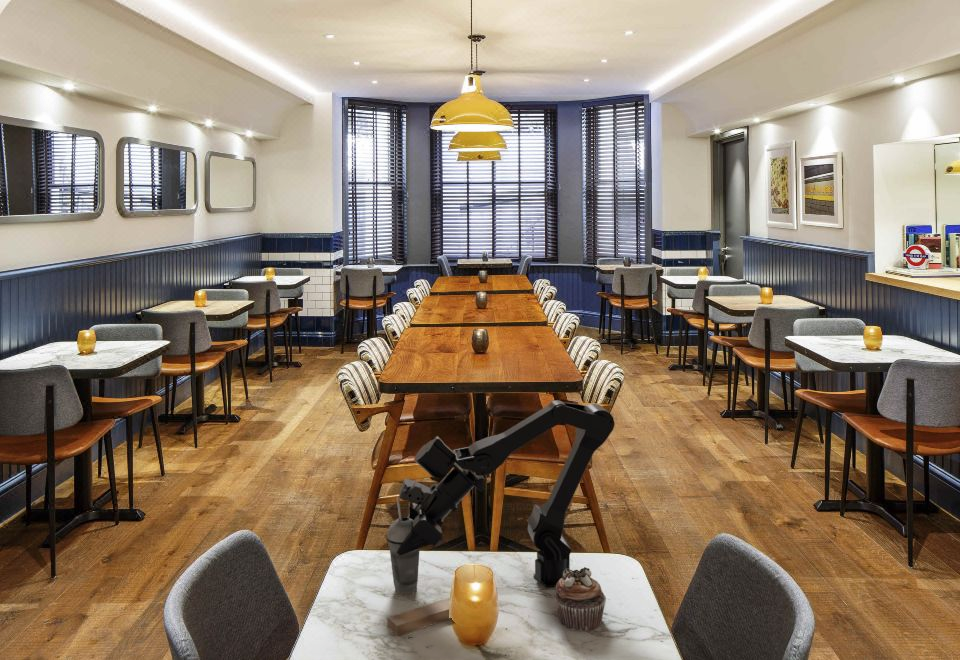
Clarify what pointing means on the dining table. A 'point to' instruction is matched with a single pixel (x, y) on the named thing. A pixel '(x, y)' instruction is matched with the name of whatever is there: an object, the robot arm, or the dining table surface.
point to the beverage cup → (402, 556)
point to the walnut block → (419, 617)
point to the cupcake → (579, 600)
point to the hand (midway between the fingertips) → (397, 546)
